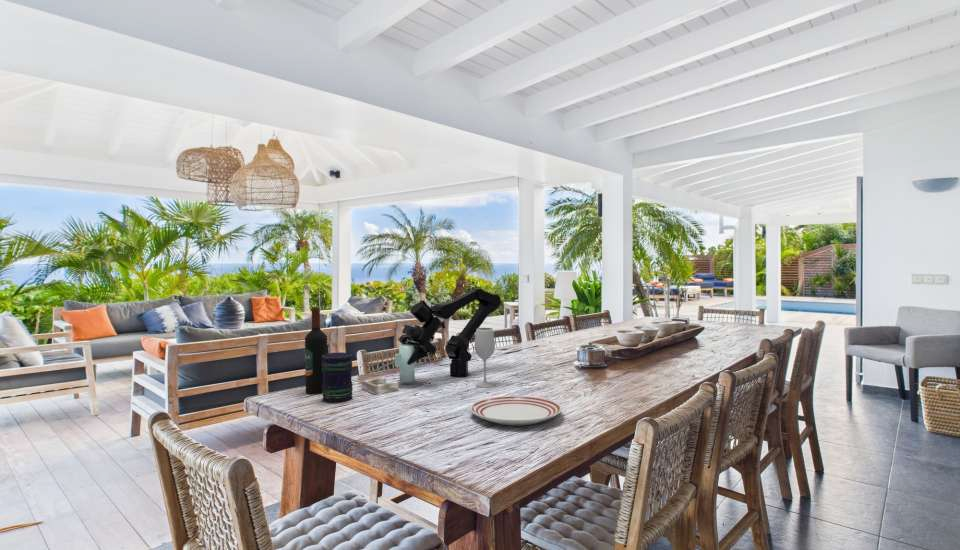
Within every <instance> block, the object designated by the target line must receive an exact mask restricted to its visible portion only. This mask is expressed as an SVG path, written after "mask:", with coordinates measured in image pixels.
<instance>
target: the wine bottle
mask: <svg viewBox="0 0 960 550" xmlns="http://www.w3.org/2000/svg"><path fill="white" fill-rule="evenodd" d="M324 354H328V337H327V334H326V333H325V332H323V331H322V329H321V307H320V306H311V329H310V331H309V332H308V333H307V334H306V335H305V336H304V361H305V362H304V365H305V367H304V370H305V371H304V373H305V393H306V394H307V395H320V394H322V384H323V373H322V360H323V359H322V355H324ZM322 395H323V394H322Z"/></svg>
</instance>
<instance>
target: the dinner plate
mask: <svg viewBox="0 0 960 550" xmlns="http://www.w3.org/2000/svg"><path fill="white" fill-rule="evenodd" d="M562 410H563V407H562V406H561V404H559V402H556V401H554V400H550V399H548V398H544V397H538V396H528V395H502V396H500V395H499V396H493V397H487V398H483V399H480V400H477V401H473V403H471V404H470V406H469V411H470V413H472V414H474V416H477V417H478V418H479V419H480V418H481V419H483V420H486V421H488V422H491V423H494V424H498V425H504V426H529V425H535V424H539V423H541V422H544V421H547V420H550V419H552V418H555V416H557V415H559V414H560V413H561V412H562Z"/></svg>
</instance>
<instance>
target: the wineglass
mask: <svg viewBox="0 0 960 550" xmlns="http://www.w3.org/2000/svg"><path fill="white" fill-rule="evenodd" d="M494 333H495V332H494V329H493V328H491V327H479V328H477V330H476V333H475V335H474V352H475V354H477V356H478V357H479V359H481V360H482V361H483V380H482V381H480V382H476V383H475V385H476V386H475V387H477V386H478V388H493V387H494V386H495V383H493V382H490V381H489V382H488V381H487V380H488V379H487V371H486V370H487V360H488V359H490V357H491V358H492V355H493V354H494V353H495V349H496V341H495V334H494Z"/></svg>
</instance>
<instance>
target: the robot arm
mask: <svg viewBox="0 0 960 550" xmlns="http://www.w3.org/2000/svg"><path fill="white" fill-rule="evenodd" d="M501 300H502V299H501V297H500V296H499V294H495V293H491V292H489V291H485V290H484V289H482V288H479V287H474V288H471V289H470V290H468V291H467V292H465V293H463V294H461V295H458V296H457V297H455V298H453V299H451V300H446V301H442V302H439V303H435V304H434V305H433V306H432V307H430V306H429V305H428V303H427V302H426V301H425V300H424V299H423V300H422V299H420V301H419V302H417V303H415V304H414V305H412V306H411V308H410V310H409V311H410V314H411V315H412V316H413V317H414V318H415V319H416V320H417V321H418V323H421V324H422V323H423V324H422V325H421V326H420V325H418V324H415V325H414V326H412V325H408V324H404V327H403V329H402V331H401V332H402V334H406V335H401V336H400V337H398V339H397V340H398V341H399V342H400V344H401V345H402V344H413V345H414V352H413V354H412V355H411V357H410V358H409V360H408V362H407V364H408V365H410V364H412V363H414V364H415V363H416V362H418V361H419V360H421V359H423V358H425V357H429V355H430V356H433V357H434V355H435V354H436V353H437V347H435V345H434V344H433V343H432V342H431V341H432V340H434V339H435V337H434V336H435V334H436V333H437V331H438V330H440V329H444V330H445V329H446V324H445V321H441V320H440V319H442V320H443V319H444V320H448V319H450V318H451V317H453V316H454V315H455V314H456V313H457V311H459V309H462V308H464V307H466V306H467V305H469V304H471V303H473V302H474V301H477V302H478V308H477V310H476V311H475V313H474V314H473V315H472V317H471V318H470V319H469V321H468V322H467V323H466V325H465V326H464V327H463V329H462V330H461V332H460V333H459V334H458V335H453V334H452V335H451V336H450V338H449V339H448V341H446V345H445V347H444V348H445V353H446V354H447V356H448V359H449V360H450V361H451V362H450V364H449V374H450V375H449V376H450V377H460V378H461V377H463V378H466V377H468V376H469V374H470V372H469V362H471V360H472V358H473V357H472V354H471V353H470V352H469V351H468V349H469V348H470V347H469V346H470V341H471V339H473V337H474V336H475V335H476V330H477V328H481V326H482V324H483V323H484V321H485V320H486V319H487V317H488V316H489V315H491V314H492V313H493V312H495V311H496V310H498V309H499V307H500V306H501V304H502V301H501ZM407 335H408V336H407Z"/></svg>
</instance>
